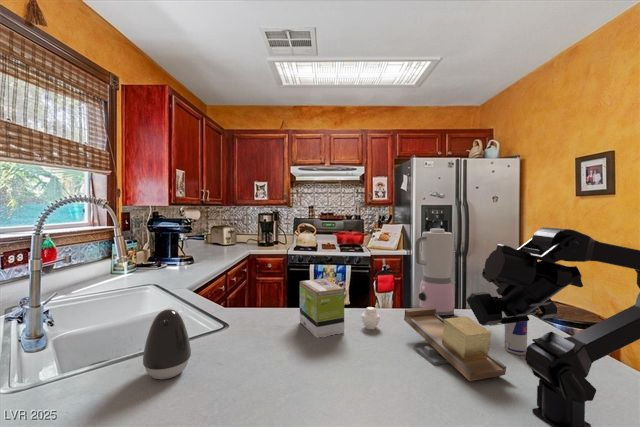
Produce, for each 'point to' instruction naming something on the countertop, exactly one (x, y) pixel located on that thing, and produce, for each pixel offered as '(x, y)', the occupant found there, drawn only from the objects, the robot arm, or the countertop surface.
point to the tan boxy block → (466, 339)
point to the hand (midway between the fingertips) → (489, 323)
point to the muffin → (370, 318)
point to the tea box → (322, 307)
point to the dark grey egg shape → (166, 346)
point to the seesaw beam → (432, 332)
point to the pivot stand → (432, 355)
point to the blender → (436, 270)
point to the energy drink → (516, 338)
